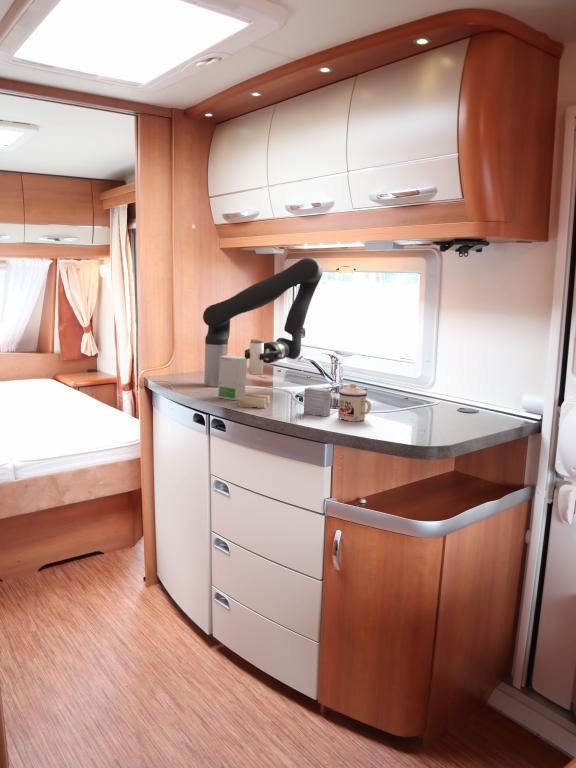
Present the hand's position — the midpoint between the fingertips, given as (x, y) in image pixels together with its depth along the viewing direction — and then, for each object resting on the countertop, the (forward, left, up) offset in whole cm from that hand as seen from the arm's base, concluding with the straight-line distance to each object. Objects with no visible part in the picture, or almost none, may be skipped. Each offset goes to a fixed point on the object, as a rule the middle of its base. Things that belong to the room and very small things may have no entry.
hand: (253, 356), depth 211 cm
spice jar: (-3, 0, -6) cm, 7 cm away
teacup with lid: (+8, +36, -18) cm, 41 cm away
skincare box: (-13, -11, -18) cm, 24 cm away
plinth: (-3, 0, -17) cm, 18 cm away
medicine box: (+4, +23, -18) cm, 30 cm away
